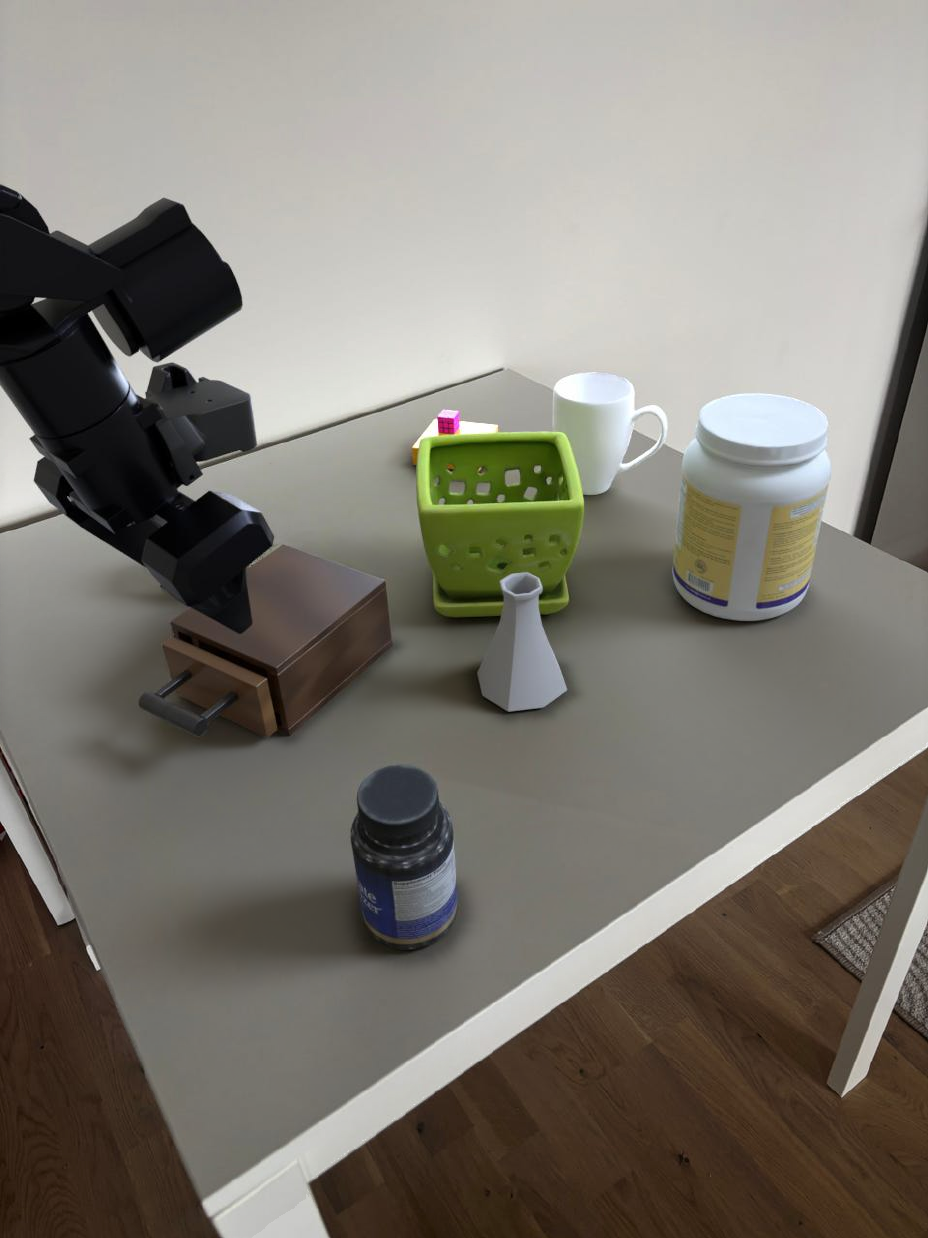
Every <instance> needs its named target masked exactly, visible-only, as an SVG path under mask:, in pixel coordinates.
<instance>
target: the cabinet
mask: <svg viewBox="0 0 928 1238" xmlns="http://www.w3.org/2000/svg"><path fill="white" fill-rule="evenodd" d="M246 581H247V588H248V595H249V601H250V608H251V614H252V621H253V624H252V625H251V627H249V628H248V629H247V630H246V631H245V632H243V633H242V634H238V633H236V632H234V631H233V630H231V629H229V628H227V627H225V626H224V625H222V624H220V623H218V622H217V621H215V620H213V619H211V618H209V617H207V616H206V615H204V614H202V613H200V612H198V611H196V610H195V609H193V608H191V607H189V608H187V609H186V610H185V611H183V612H182V613H180V614H179V615H177V616H176V617H174V618H172V619H171V620H170V621H169V623H170V627H171V631H172V635H173V637H176V638H178V639H180V640H182V641H185V642H187V643H189V644H191V645H193V643H192V639H191V637H193V638H195V639H197V640H199V641H202V642H204V643H206V644H209V645H211V646H213V647H215V648H218V649H220V650H222V651H224V652H227V653H229V654H231V655H233V656H236V657H238V658H240V659H243V660H245V661H247V662H249V663H252V664H254V665H256V666H258V667H261V668H263V669H265V670H268V671H270V672H271V675H272V680H273V685H274V690H275V694H276V699H277V704H278V709H279V713H276V712H274V715H275V719H276V724H277V730H276V731H278V732H279V733H282V734H284V735H287V736H288V737H291V736H292V735H293V734H294V733H295V732H296V731H297V730H299V729H300V728H301V727H302V726H303V725H304V724H305V723H306V722H308V721H309V720H310V719H311V718H312V717H314V715H315V714H317V713H318V712H320V710H321V709H322V708H324V707H325V706H326V705H328V703H329V702H330V701H332V700H333V699H334V698H335V697H336V696H338V694H339V693H341V691H343V690H344V689H345V688H347V686H348V685H350V684H351V683H352V682H353V681H354V680H355V679H357V678H358V677H359V676H360V675H361V674H362V673H363V672H364V671H366V670H367V669H368V668H369V667H370V666H371V665H372V664H373V663H374V662H375V661H377V660H378V659H379V658H380V657H381V656H382V655H383V654H385V653H386V652H387V651H388V650H389V649H390V648H392V647H393V638H392V631H391V630H392V629H391V617H390V610H389V609H390V608H389V600H388V591H387V582H386V581H387V580H386V579H383V578H380V577H378V576H375V575H371V574H369V573H366V572H364V571H360V570H358V569H355V568H352V567H349V566H346V565H343V564H341V563H338V562H335V561H332V560H329V559H327V558H324V557H321V556H318V555H315V554H313V553H309V552H307V551H303V550H301V549H299V548H295V547H293V546H290V545H287V544H285V543H283V544H282V545H280V546H279V547H277V548H275V549H274V550H273V551H271V552H270V553H268V554H266V556H264V557H262V558H261V559H259V560H258V561H256V562H255V563H253V564H252V565H250V566H249V568H248V569H246Z"/></svg>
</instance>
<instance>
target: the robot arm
mask: <svg viewBox="0 0 928 1238" xmlns="http://www.w3.org/2000/svg"><path fill="white" fill-rule="evenodd" d="M37 298H38V299H41V300H39V301H35V299H37ZM243 305H244V304H243V296H242V292H241V288H240V286H239V282H238V281H237V277H236V275H235V273H234V270H233V269H232V267H231V266H230V264H229V263H228V262H226V261H225V260H223V259H222V257H221V255H220V254H219V252H218V250H217V249H216V248H215V247H214V245H213V244H212V242H211V241H210V240H209V239H208V238H207V236H206V235H205V234H204V233H203V232H202V231H201V229H200V228H198V227H197V225H196V224H195V223H193V221H192V219H191V217H190V215H189V212H188V211H187V209H186V207H185V205H184V204H183V203H180V202H177V201H175V200H172V199H170V198H167V197H162V198H160V199H158V200H156V201H155V202H153V203H151V204H150V205H148V206H147V207H145V208H144V209H143V210H142V211H141V212H140V213H139V214H138V215H137V216H136V217H134V218H133V219H131V220H129V221H128V222H126V223H125V224H123V225H121V226H120V227H118V228H116V229H114V230H112V231H111V232H109V233H106V234H105V235H104V236H102V237H100V238H98V239H96V240H95V241H93V242H91V243H89V244H86V243H84V242H82V241H80V240H78V239H76V238H74V237H72V236H70V235H68V234H66V233H65V232H62V231H61V230H54V231H52V232H50V230H49V227H48V225H47V223H46V222H45V220H44V218H43V216H42V214H41V213H40V212H39V210H38V208H37V207H36V206H34V205H33V204H32V203H31V202H30V201H29V200H28V199H26V198H25V197H24V196H23V195H22V194H21V193H19V192H18V191H16V190H15V189H12V188H10V187H8V186H6V185H4V184H1V183H0V387H1V389H2V390H3V391H4V393H5V394H6V395H7V398H9V400H10V401H11V403H12V404H13V406H14V407H15V409H16V410H17V412H19V414H20V415H21V417H22V418H23V420H24V421H25V422H26V424H27V425H28V427H29V429H30V430H31V431H32V433H33V435H32V436H30V437H29V438H28V439H29V441H30V443H32V445H33V446H34V448H35V449H36V450H37V452H38V453H39V454H41V456H43V457H42V458H40V459H39V460H37V461H36V467H35V472H34V477H33V483H35V485H36V486H37V488H38V489H39V490H40V492H41V493H42V494H43V496H44V498H45V499H46V500H47V501H48V502H49V504H50V505H52V506H54V508H56V509H57V510H59V511H60V512H61V513H62V514H63V515H64V516H65V517H67V519H69V520H70V521H72V522H73V523H74V524H76V525H77V526H79V527H80V529H83V530H85V531H86V532H87V533H89V534H91V535H93V536H94V537H96V538H97V539H99V540H101V541H102V542H104V543H105V544H106V545H109V546H111V547H112V548H113V549H115V550H117V551H118V552H120V553H122V554H123V555H125V556H126V557H128V558H130V559H131V560H133V561H135V562H136V563H138V564H139V565H140V566H142V567H144V568H146V569H147V571H148V572H149V574H150V575H151V576H152V578H154V579H155V580H156V581H157V582H158V584H159V587H160V588H161V589H162V590H164V592H166V593H167V594H168V595H170V596H172V598H174V599H176V601H178V602H180V603H181V604H182V605H184V606H186V607H189V608H193V609H195V610H196V611H198V612H200V613H202V614H204V615H206V616H207V617H209V618H211V619H213V620H215V621H217V622H218V623H220V624H222V625H224V626H225V627H227V628H229V629H231V630H233V631H234V632H236V633H238V634H242V633H243V632H245V631H246V630H247V629H248V628H249V627H251V625H252V624H253V621H252V614H251V608H250V601H249V595H248V588H247V581H246V567H247V566H248V565H250V566H251V564H252V563H254V562H255V561H256V560H257V559H258V558H260V557H261V556H262V555H263V554H265V553H266V552H267V551H268V550H270V549H271V548H272V547H273V545H274V540H275V535H274V532H273V531H272V529H271V528H270V526H269V523H268V521H267V520H266V518H265V517H264V515H263V512H262V511H260V510H258V509H257V508H255V507H253V506H252V505H250V504H248V503H246V502H244V501H243V500H241V499H239V498H238V497H236V496H234V495H233V494H231V493H229V492H222V491H215V490H207V492H206V493H204V494H202V495H201V496H200V497H199V498H198V499H196V500H194V499H193V498H191V497H189V496H188V495H186V494H184V493H183V492H182V491H180V490H179V488H180V487H181V486H185V487H189V486H190V485H191V484H192V483H194V482H196V481H197V480H198V479H199V478H201V477H202V476H203V475H204V473H203V471H202V469H201V468H200V466H199V464H198V463H201V462H207V461H210V460H213V459H216V458H220V457H223V456H226V455H228V454H232V453H235V452H238V451H240V452H242V453H245V452H249V451H252V450H253V449H255V448H256V447H258V440H257V432H256V424H255V415H254V409H253V401H252V395H251V394H250V393H249V392H247V391H245V390H243V389H240V388H238V387H235V386H234V385H231V384H229V383H227V382H224V381H222V380H218V379H210V378H207V377H205V376H201V377H198V379H197V380H198V381H197V380H196V378H195V377H194V376H193V375H192V373H191V371H190V370H189V369H188V368H186V367H184V366H182V365H180V364H178V363H175V362H173V361H172V362H168V363H163V364H159V365H155V366H152V369H151V373H150V377H149V380H148V384H147V388H146V391H144V395H145V398H144V397H142V396H140V395H138V394H137V393H136V392H135V390H134V388H133V387H132V385H131V383H130V382H129V380H128V378H127V377H126V375H125V373H124V371H123V370H122V368H121V367H120V365H119V362H118V361H117V360H116V358H115V356H114V355H113V353H112V352H111V350H110V348H109V346H108V344H107V343H106V341H105V339H104V338H103V337H102V334H101V333H100V331H99V329H98V328H97V325H96V324H95V323H94V321H93V320H92V318H91V316H90V314H89V313H90V312H91V313H92V314H93V315H94V317H95V319H96V321H97V322H98V324H99V325H100V327H101V328H102V330H103V331H104V333H105V334H106V335H107V337H108V338H109V339H110V341H111V342H112V343H113V344H114V345H115V346H116V348H118V350H119V351H120V352H122V354H124V355H125V356H126V357H129V358H130V357H132V356H134V355H135V354H137V353H138V352H141V353H142V354H143V355H144V356H145V357H146V358H148V359H149V360H151V361H152V362H154V363H160V362H162V361H163V360H164V359H166V358H168V357H169V356H171V355H172V354H174V353H175V352H177V351H179V350H181V349H182V348H183V347H185V346H186V345H188V344H190V343H191V342H193V341H194V340H195V339H198V338H199V337H200V336H202V335H204V334H205V333H207V332H209V331H210V330H212V329H213V328H215V327H216V326H218V325H220V324H222V323H223V322H225V321H226V320H228V319H229V318H231V317H232V316H234V315H236V314H237V313H239V312H241V310H242V309H243Z"/></svg>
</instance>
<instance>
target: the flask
mask: <svg viewBox="0 0 928 1238" xmlns="http://www.w3.org/2000/svg"><path fill="white" fill-rule="evenodd" d="M500 586H501V590H502V593H503V595H504V604H503V609H502V614H501V616H500V620H499V622H498V625H497V627H496V630H495V632H494V635H493V636H492V639H491V642H490V644H489V647H488V648H487V651H486V652H485V655H484V658H483V659H482V661H481V664H480V665H479V668H478V670H477V673H476V675H477V678H478V683H479V687H480V692H481V695H482V697H484V698H485V699H487V700H489V702H492V703H494V704H495V705H497V706H498V707H500V708H501V709H503V710H504V711H506V712H516V711H525V710H533V709H542V708H545V707H547V706H548V705H549V704H550V703H552V702H553V701H555V700H556V699H557V698H559V697H560V696H562V695H563V694H564V693H565V692H567V691H568V688H567V684H566V682H565V679H564V676H563V673H562V670H561V667H560V665H559V663H558V660H557V658H556V656H555V652H554V651H553V649H552V646H551V644H550V641H549V639H548V637H547V634H546V631H545V628H544V627H543V623H542V618H541V614H540V613H539V594H541V593H542V590H543V587H542V585H541V582H540V579H539V578H538V577H536V576H534V575H532V574H530V573H528V572H524V573H515V574H510V575H508V576H507V577H505V578H503V579H502V580H500Z"/></svg>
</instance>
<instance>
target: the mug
mask: <svg viewBox="0 0 928 1238" xmlns="http://www.w3.org/2000/svg"><path fill="white" fill-rule="evenodd" d="M648 414H650V415H653V416H655V417H656V418H657V419H658V421H659V423H660V428H661V429H660V434H659V438H658V440H657V442H656V444H655V445H653V446H652V447H651V448H650V449H648V450H647V451H645V452H644V453H642V454H641V455H640V456H638V457H636V458H635V459H633V460H632V461H630V462H627V463H623V459H624V458H625V455H626V453H627V450H628V448H629V445H630V443H631V439H632V436H633V435H632V434H633V430H634V425H635V422H637V421H638V420H639V419H640V418H642V417H643V416H645V415H648ZM668 429H669V428H668V418H667V415H666V414H665V412H664V411H663V409H661V407H659V406H657V405H647V406H643V407H641V408H639V409H637V410H635V388H634V386H633V384H632V383H631V382H630V381H629V380H628V379H626V378H624V377H622V376H620V375H616V374H612V373H606V372H596V371H594V372H593V371H591V372H590V371H589V372H579V373H574V374H571V375H568V376H565V377H563V378H561V379H559V381H557V382H556V384H555V385H554V387H553V394H552V432H562V433H564V434H565V435H566V436H567V439H568V441H569V443H570V446H571V449H572V452H573V455H574V458H575V462H576V466H577V469H578V473H579V477H580V482H581V487H582V493H583V496H597V495H600V494H604V493H605V492H607V491H608V490H609V488H610V487H611V484H613V480H614V478H615V477H616V475H617V474H622V473H625V472H627V471H629V470H631V469H633V468H635V467H636V466H638V465H640V464H642V463H643V462H644V461H646V460H647V459H649V458H650V457H652V456H653V455H655V454H656V453H657V452H658V451H659V450H660V449H661V447H662V446H663V445H664V443H665V441H666V439H667V435H668V431H669V430H668Z"/></svg>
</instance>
